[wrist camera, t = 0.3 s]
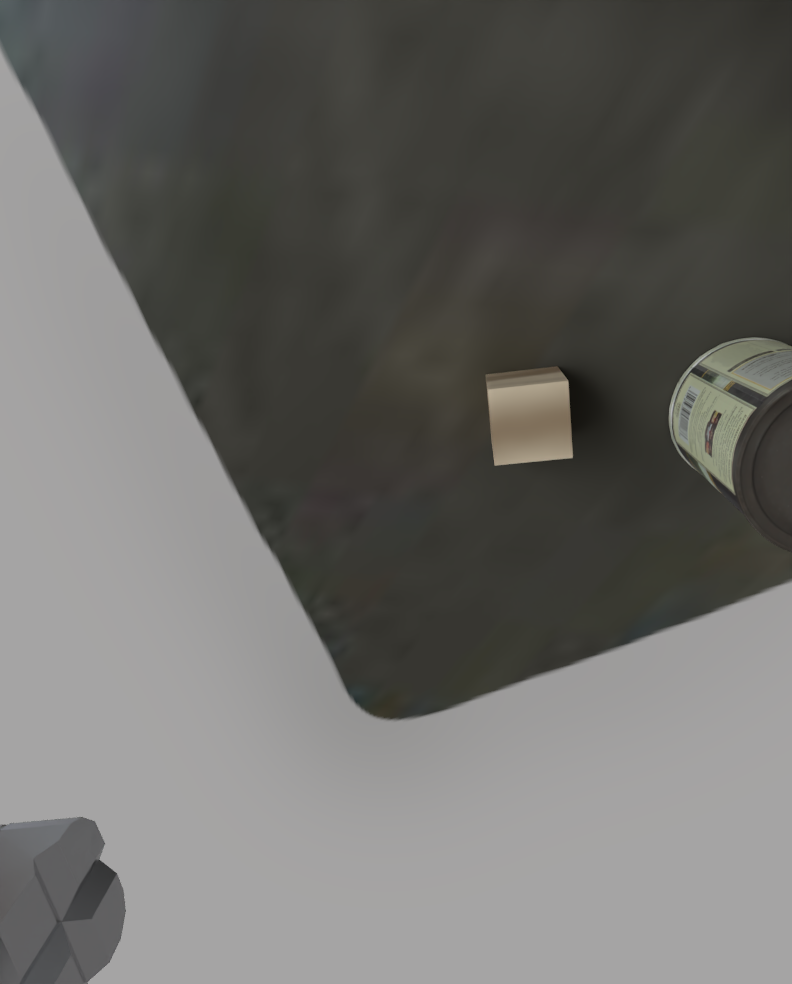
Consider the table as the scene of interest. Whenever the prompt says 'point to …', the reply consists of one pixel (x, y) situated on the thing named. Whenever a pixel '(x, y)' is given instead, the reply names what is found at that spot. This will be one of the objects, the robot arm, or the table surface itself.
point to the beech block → (529, 415)
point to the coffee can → (741, 429)
